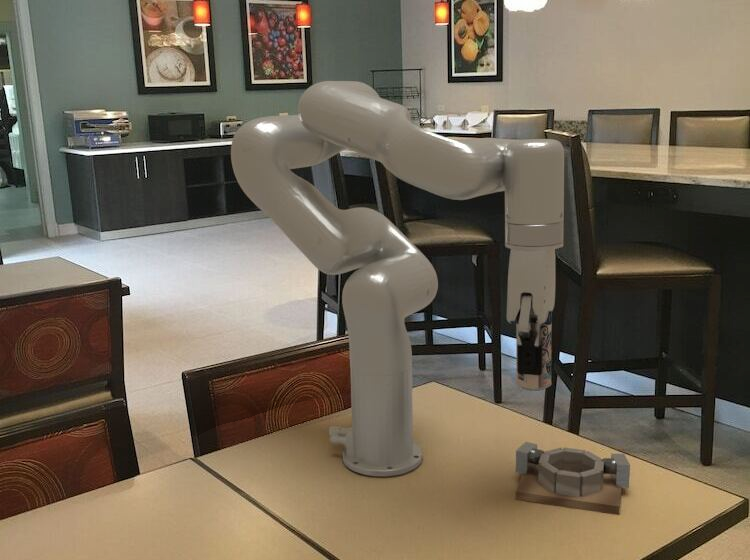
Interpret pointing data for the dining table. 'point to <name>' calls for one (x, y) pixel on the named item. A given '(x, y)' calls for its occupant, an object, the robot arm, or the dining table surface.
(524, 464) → the shaft in
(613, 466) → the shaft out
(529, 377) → the beer can
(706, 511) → the dining table surface
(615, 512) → the octagonal gimbal ring stand
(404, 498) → the dining table surface
